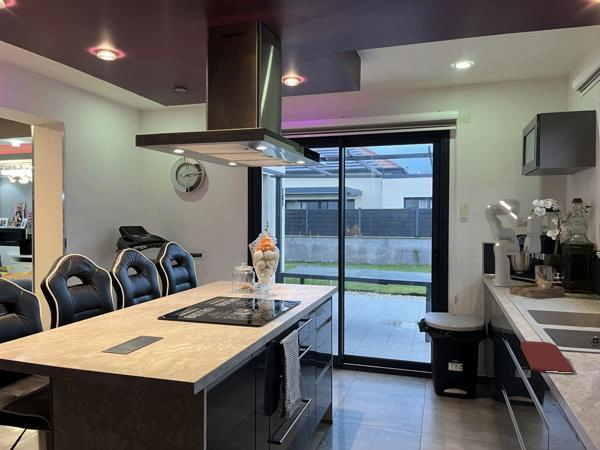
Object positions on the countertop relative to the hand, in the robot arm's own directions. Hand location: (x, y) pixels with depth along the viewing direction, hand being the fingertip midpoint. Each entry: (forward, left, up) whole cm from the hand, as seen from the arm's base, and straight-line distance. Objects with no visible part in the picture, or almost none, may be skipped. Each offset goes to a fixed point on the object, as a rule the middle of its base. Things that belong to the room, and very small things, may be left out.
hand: (532, 263), depth 296 cm
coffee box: (-9, +19, -20) cm, 28 cm away
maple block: (+1, +8, -16) cm, 18 cm away
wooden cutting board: (+4, -1, -19) cm, 20 cm away
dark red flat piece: (+106, -104, -20) cm, 150 cm away
